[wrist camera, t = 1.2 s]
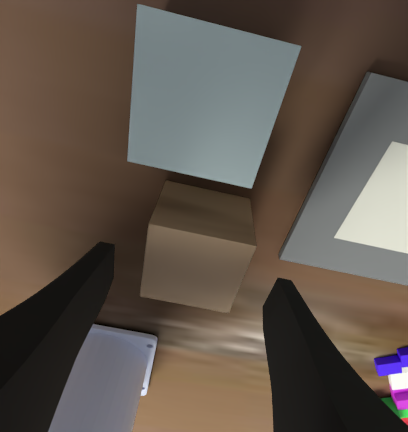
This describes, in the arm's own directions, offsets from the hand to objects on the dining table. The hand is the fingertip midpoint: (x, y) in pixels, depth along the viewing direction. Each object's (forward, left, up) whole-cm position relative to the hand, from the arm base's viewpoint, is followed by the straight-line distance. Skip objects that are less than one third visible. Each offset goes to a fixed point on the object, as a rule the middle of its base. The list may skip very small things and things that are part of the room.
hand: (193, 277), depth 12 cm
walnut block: (0, 0, -4) cm, 4 cm away
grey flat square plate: (+4, -10, -4) cm, 12 cm away
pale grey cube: (+7, +1, -4) cm, 8 cm away
